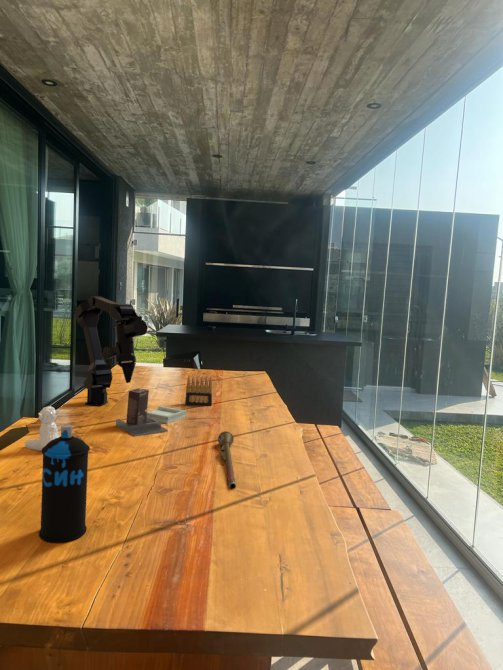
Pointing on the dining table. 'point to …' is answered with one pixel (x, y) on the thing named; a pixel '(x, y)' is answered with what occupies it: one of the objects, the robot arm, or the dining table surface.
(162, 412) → the tray
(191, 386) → the ammunition clip
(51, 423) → the sitting furry creature
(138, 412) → the box
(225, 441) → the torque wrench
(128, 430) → the socket bracket
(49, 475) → the aerosol can
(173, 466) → the dining table surface
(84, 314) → the robot arm
